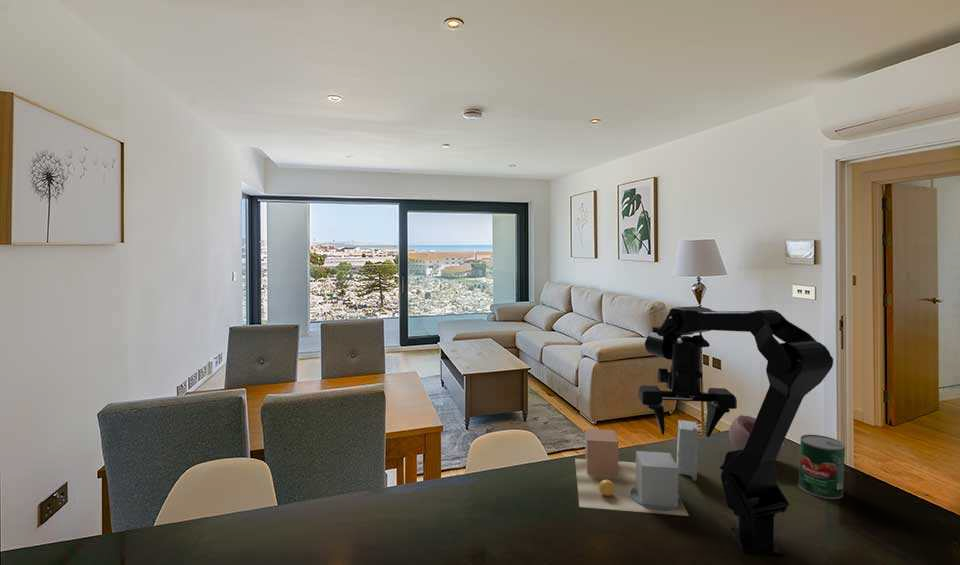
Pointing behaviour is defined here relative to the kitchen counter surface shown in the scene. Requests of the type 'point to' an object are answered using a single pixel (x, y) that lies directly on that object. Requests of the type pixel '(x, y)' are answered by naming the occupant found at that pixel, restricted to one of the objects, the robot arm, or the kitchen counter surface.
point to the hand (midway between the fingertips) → (684, 435)
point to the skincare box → (687, 448)
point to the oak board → (617, 491)
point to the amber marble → (606, 487)
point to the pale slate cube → (656, 478)
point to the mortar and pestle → (744, 433)
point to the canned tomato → (821, 466)
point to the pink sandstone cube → (601, 452)
